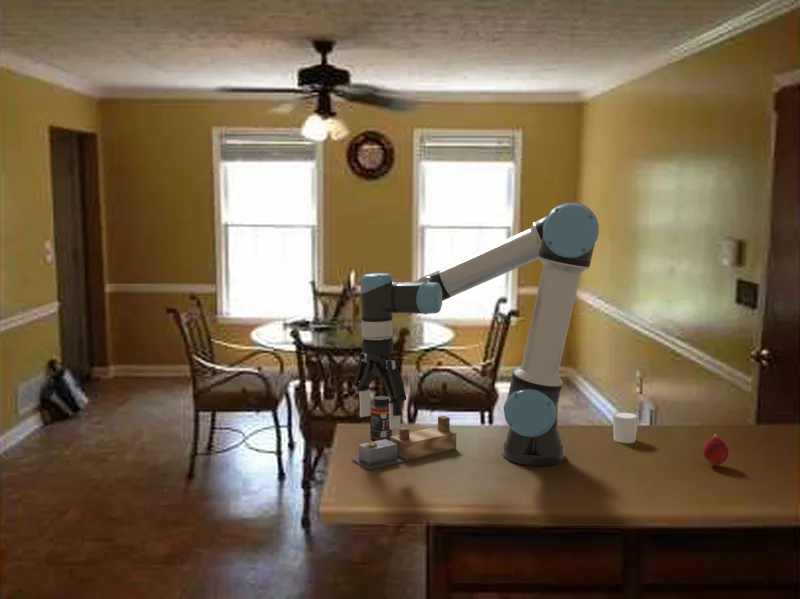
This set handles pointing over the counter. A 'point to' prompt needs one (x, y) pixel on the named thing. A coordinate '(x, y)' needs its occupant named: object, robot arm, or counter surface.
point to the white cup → (625, 427)
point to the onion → (715, 451)
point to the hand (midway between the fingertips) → (379, 422)
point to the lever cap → (377, 452)
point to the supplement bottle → (380, 419)
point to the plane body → (425, 440)
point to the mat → (376, 464)
